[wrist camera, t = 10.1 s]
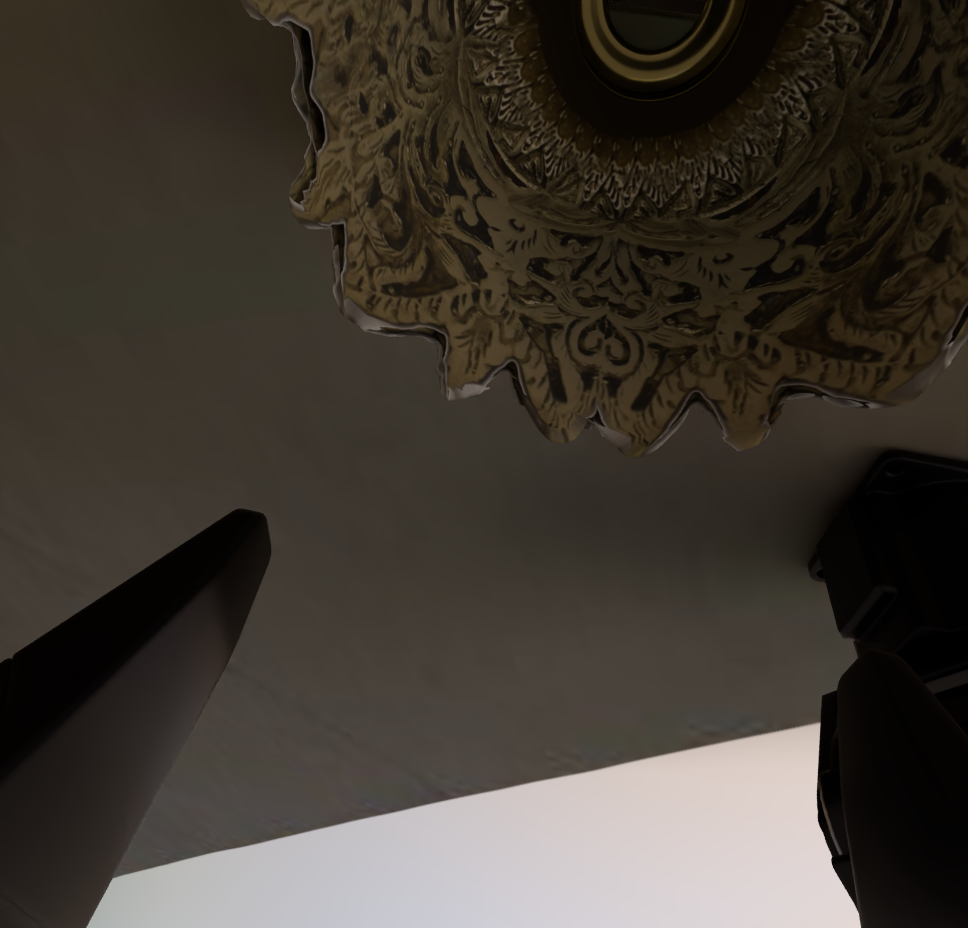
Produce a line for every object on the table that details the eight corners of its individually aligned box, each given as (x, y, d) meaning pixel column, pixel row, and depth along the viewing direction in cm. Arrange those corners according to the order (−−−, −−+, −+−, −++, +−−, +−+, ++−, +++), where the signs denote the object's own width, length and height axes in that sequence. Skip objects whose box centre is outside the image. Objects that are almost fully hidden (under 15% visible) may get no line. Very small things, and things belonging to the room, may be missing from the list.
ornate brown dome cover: (442, -354, 9) (74, -789, 3) (1013, -354, 8) (1937, -943, 2) (446, 194, 14) (305, 419, 8) (805, 229, 13) (935, 507, 7)
